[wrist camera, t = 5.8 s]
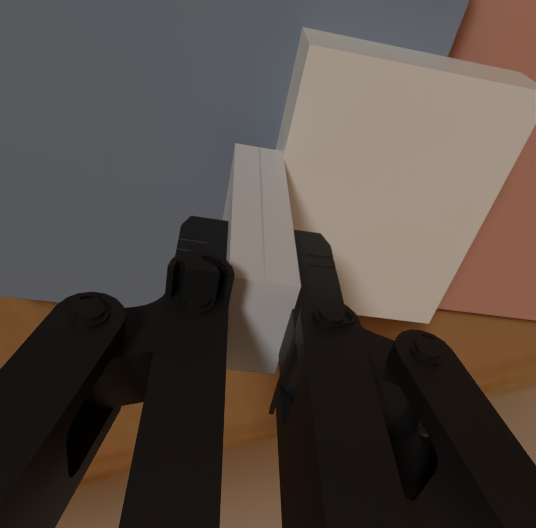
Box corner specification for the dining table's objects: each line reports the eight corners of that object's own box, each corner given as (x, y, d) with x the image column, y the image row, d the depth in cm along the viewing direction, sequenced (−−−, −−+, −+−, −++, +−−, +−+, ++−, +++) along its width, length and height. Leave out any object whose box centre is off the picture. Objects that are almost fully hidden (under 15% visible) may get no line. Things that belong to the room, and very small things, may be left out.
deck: (-14, 247, 22) (-45, 291, 20) (-95, -201, 13) (-168, -219, 11) (330, 290, 25) (339, 333, 22) (454, -68, 16) (492, -60, 13)
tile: (249, 268, 20) (250, 302, 18) (302, 27, 14) (309, 44, 13) (414, 290, 21) (428, 323, 19) (520, 72, 15) (552, 93, 14)
